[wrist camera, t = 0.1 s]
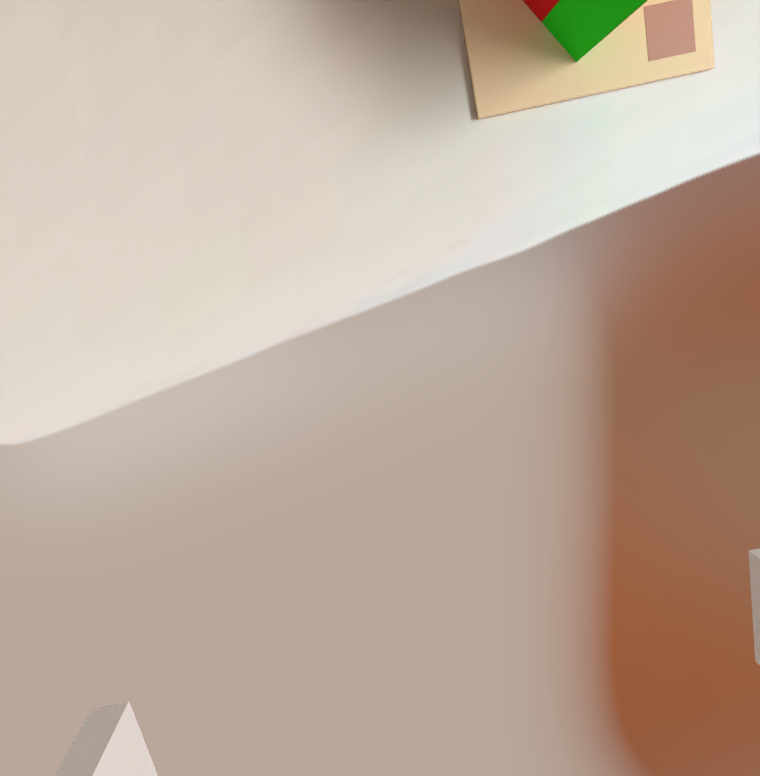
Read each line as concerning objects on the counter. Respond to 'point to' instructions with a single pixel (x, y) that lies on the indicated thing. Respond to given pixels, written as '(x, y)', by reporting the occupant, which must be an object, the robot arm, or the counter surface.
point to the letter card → (595, 69)
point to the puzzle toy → (582, 20)
